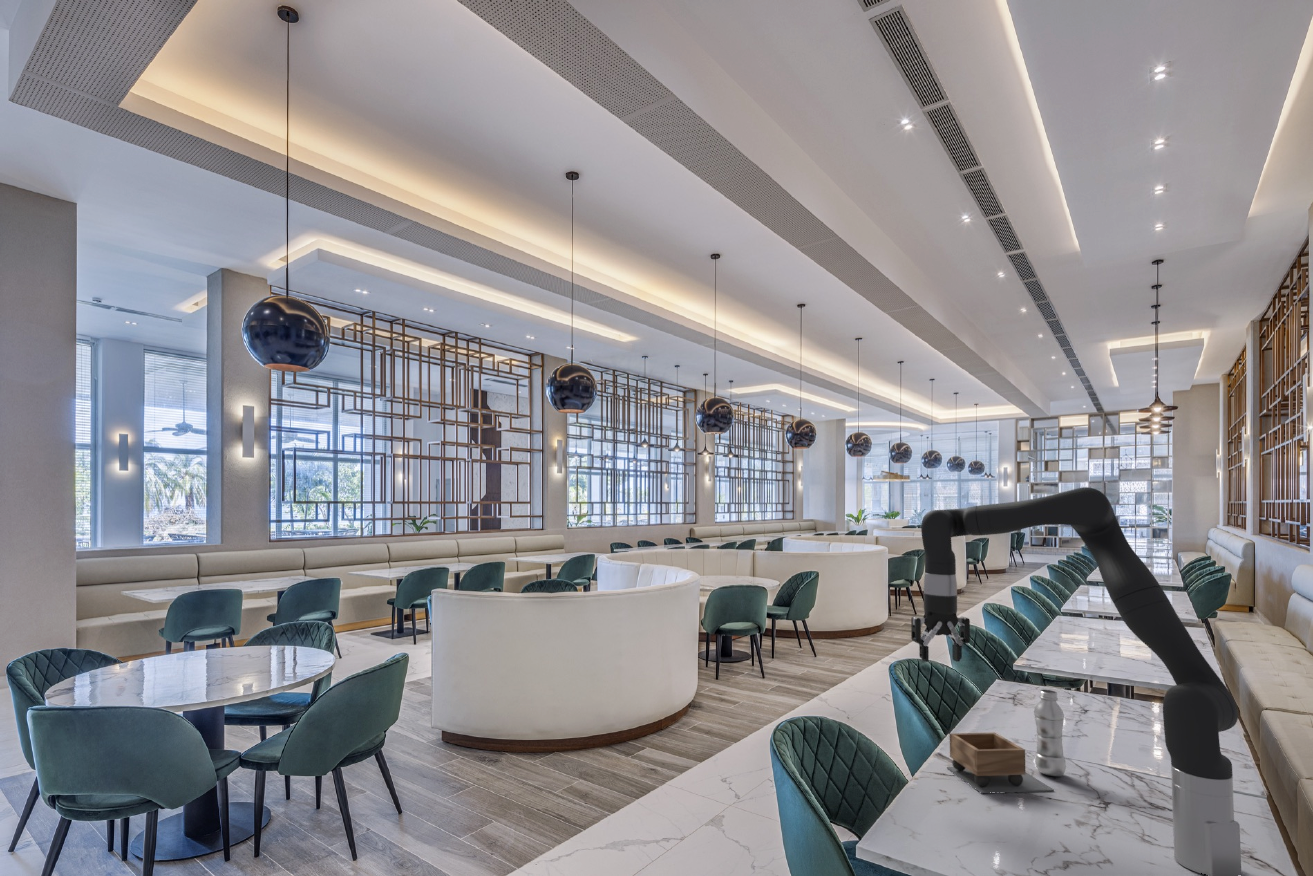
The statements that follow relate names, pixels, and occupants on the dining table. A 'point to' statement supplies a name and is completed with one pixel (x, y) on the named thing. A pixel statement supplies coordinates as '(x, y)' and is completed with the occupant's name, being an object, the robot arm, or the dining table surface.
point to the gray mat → (1003, 783)
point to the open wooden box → (987, 757)
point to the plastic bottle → (1049, 735)
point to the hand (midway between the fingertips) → (940, 661)
